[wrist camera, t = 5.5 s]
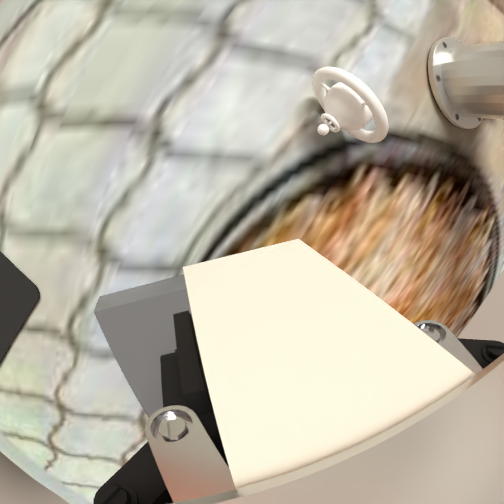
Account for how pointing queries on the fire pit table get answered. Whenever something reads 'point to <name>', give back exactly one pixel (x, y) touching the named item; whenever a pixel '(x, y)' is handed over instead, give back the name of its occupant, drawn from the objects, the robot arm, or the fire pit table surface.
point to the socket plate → (143, 333)
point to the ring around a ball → (348, 105)
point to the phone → (14, 302)
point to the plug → (305, 359)
